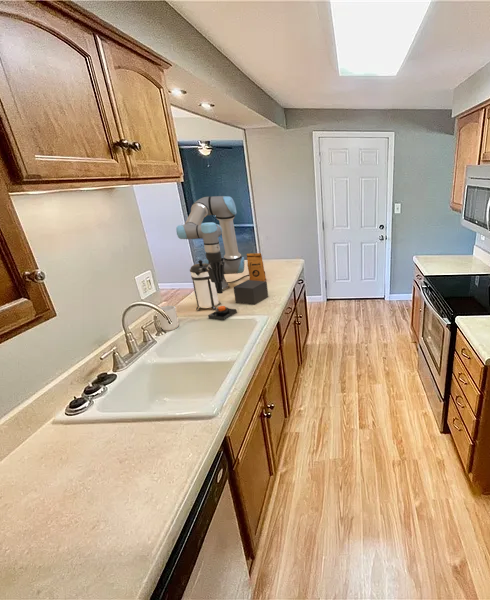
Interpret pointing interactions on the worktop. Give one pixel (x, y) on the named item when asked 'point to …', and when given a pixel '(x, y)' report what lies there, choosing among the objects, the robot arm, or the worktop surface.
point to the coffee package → (256, 267)
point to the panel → (222, 314)
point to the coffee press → (203, 287)
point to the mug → (173, 316)
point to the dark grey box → (250, 292)
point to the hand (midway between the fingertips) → (219, 293)
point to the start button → (221, 308)
